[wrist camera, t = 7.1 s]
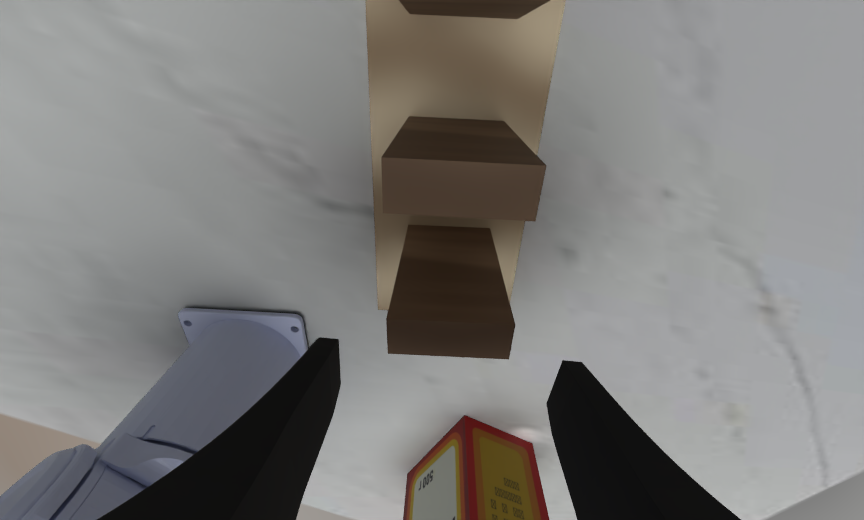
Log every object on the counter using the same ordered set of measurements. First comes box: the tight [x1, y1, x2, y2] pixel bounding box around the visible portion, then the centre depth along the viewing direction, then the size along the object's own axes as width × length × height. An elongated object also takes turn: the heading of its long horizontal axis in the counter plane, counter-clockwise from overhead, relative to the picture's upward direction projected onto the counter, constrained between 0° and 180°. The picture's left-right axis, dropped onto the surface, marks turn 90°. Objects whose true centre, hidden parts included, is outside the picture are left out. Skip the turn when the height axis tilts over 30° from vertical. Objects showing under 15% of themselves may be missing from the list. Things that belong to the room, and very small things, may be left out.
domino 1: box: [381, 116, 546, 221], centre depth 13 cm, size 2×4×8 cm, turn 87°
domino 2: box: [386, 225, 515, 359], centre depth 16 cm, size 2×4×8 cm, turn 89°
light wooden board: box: [366, 0, 566, 310], centre depth 16 cm, size 26×8×1 cm, turn 178°
